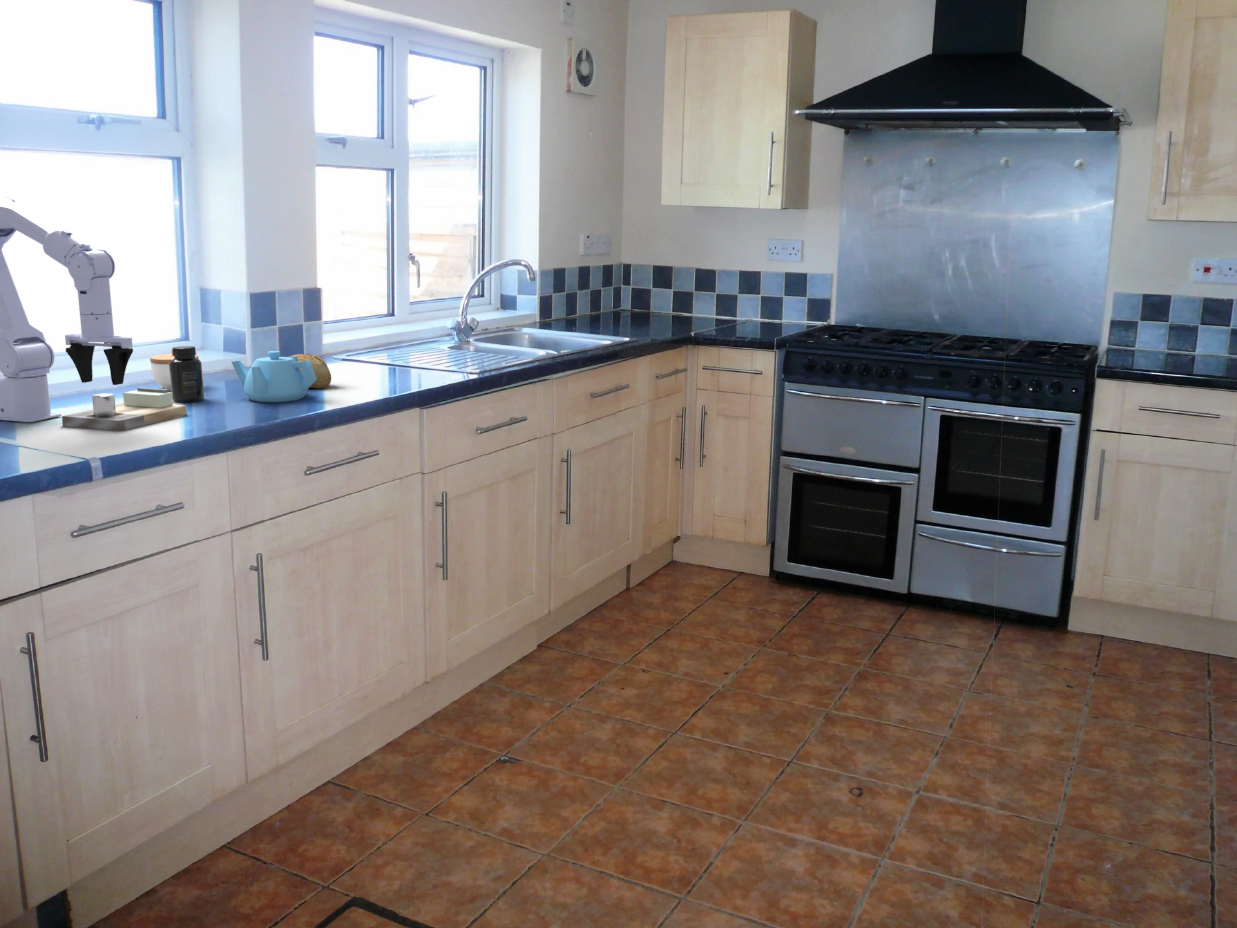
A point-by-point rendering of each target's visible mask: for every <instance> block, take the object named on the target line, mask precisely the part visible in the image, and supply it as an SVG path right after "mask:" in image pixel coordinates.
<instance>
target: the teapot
mask: <svg viewBox="0 0 1237 928" xmlns="http://www.w3.org/2000/svg"><path fill="white" fill-rule="evenodd" d="M267 355H268V356H267V357H265V356H264V357H260V358H256V359H255V360H254V361H253V363H252V365H251V366H250V369H249V370H248V369H247V367H246V366H245V365H244V364H243V363H242V362H241V360H232V361H231V365H232V367H233V368H234V370H235V372H236V375H237V376H238V379H239V380H240V383H241V385H242V387H243V391H244V395H246V396H247V398H248V399H249V400H250V401H253V402H259V403H284V402H294V401H297V400H301V399H303V398H304V397H305V396H306V394H307V393H308V391H309V388H310V386H311V385H312V384H313V383H314V382H315V381H316V380H317V378H316V375H315V373H314V370H313V367H312V364H311V361H310V360H308V361H302V362H298V356H292V355H290V356H291V357H290V356H280V355H281V351H280V350H270V351H267ZM301 366H302V368H303V371H302V370H301V368H300V367H301ZM303 372H304V373H303Z"/></svg>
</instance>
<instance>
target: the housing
mask: <svg viewBox="0 0 1237 928" xmlns="http://www.w3.org/2000/svg"><path fill="white" fill-rule="evenodd" d="M115 408H116V416H114V417H109V418H99V417H94V411H93V409H90V410H84V411H79V412H75V413H70V414H66V415H61V421H62V427H69V428H70V427H71V428H81V429H82V428H83V429H90V430H91V429H93V430H105V431H115V432H116V431H117V432H121V431H127V430H131V429H133V428H139V427H142V426H146V425H147V426H148V425H150V424H155V423H159V422H162V421H167V420H172V419H175V418H180V417H183V416H187V415H188V411H187V410H188V408H187V405H186V404H185V405H184V404H174V403H173V405H170V406H166V407H162V408H154V407H141V406H128V405H124V402H123V403H118V404H115Z"/></svg>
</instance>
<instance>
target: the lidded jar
mask: <svg viewBox="0 0 1237 928" xmlns="http://www.w3.org/2000/svg"><path fill="white" fill-rule="evenodd" d="M195 357H196V358H197V359H199V355H198V354H196V355H195ZM173 359H174V356H173V349H171V353H166V354H165V353H164V354H156V355H152V356H150V357H149V360H150V365H151V373H152V376H153V378H154V381H155V382H156V383H157V384H158V385H159V387H160V388H162V389H163V388H164V389H167V391H170V390H171V381H170V370H169V363H170V361H171V360H173ZM199 360H200V359H199Z"/></svg>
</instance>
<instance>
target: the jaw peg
mask: <svg viewBox="0 0 1237 928" xmlns="http://www.w3.org/2000/svg"><path fill="white" fill-rule="evenodd" d="M91 397H92V398H91V399H92V410H93V411H94V417H99V418H109V417H114V416H116V408H115V405H116V400H115V394H114V393H95V394H93V395H91Z"/></svg>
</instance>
